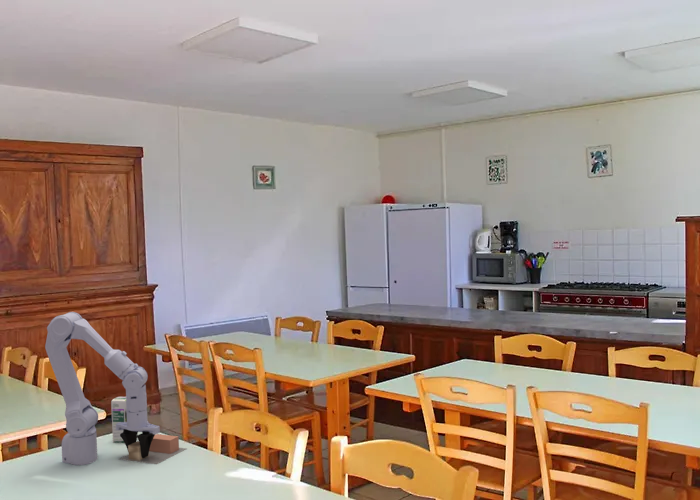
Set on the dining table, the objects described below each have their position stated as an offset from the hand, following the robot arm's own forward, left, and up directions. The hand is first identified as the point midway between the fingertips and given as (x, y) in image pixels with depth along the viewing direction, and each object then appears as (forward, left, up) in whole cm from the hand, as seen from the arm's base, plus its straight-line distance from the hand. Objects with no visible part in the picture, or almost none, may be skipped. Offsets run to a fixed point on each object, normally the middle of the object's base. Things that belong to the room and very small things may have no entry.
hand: (138, 456), depth 193 cm
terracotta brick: (+3, +7, 0) cm, 8 cm away
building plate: (+2, +4, -1) cm, 5 cm away
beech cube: (0, 0, 0) cm, 0 cm away
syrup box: (-16, +12, -2) cm, 20 cm away
